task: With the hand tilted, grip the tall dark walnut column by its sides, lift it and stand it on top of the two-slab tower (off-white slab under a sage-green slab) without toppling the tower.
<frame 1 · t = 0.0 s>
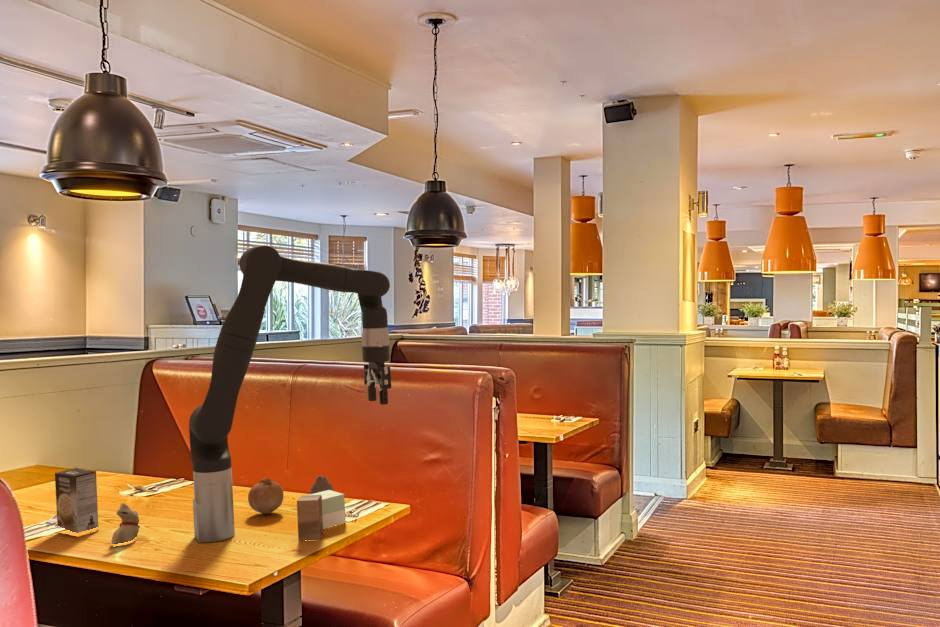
hand: (378, 402, 218), 29 cm above the table, tool pointing down, fingers open, 8 cm apart
vase: (322, 508, 221), on the table
onion: (266, 514, 217), on the table
chocolate bunny: (125, 543, 196), on the table
tower base: (326, 525, 205), on the table, touching tower mid
coffee box: (78, 533, 206), on the table
column: (311, 538, 194), on the table
tower mid: (325, 509, 205), point 4 cm above the table, touching tower base
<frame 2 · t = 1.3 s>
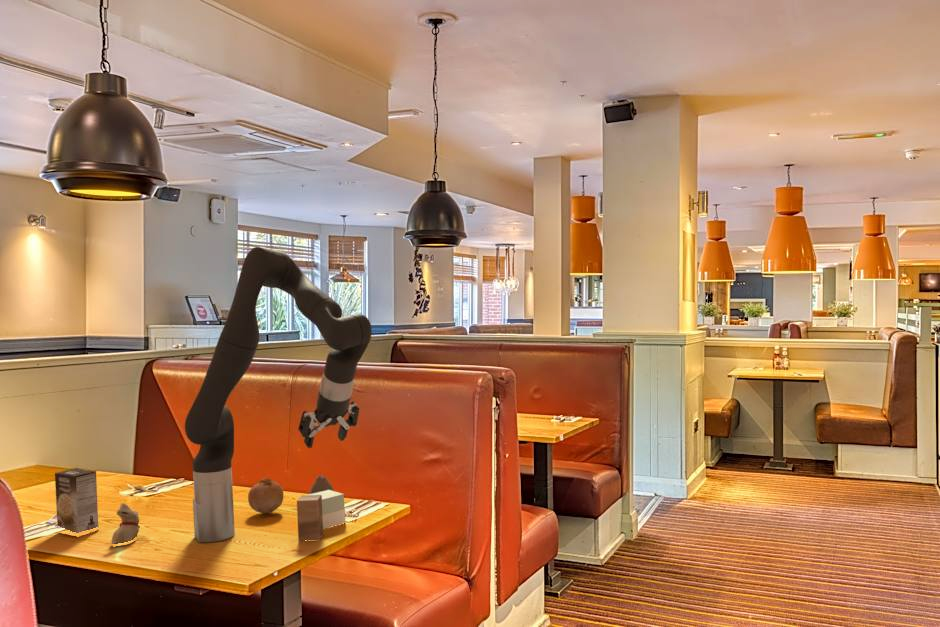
hand: (324, 442, 191), 24 cm above the table, tool tilted 35°, fingers open, 8 cm apart
nothing on the table moved.
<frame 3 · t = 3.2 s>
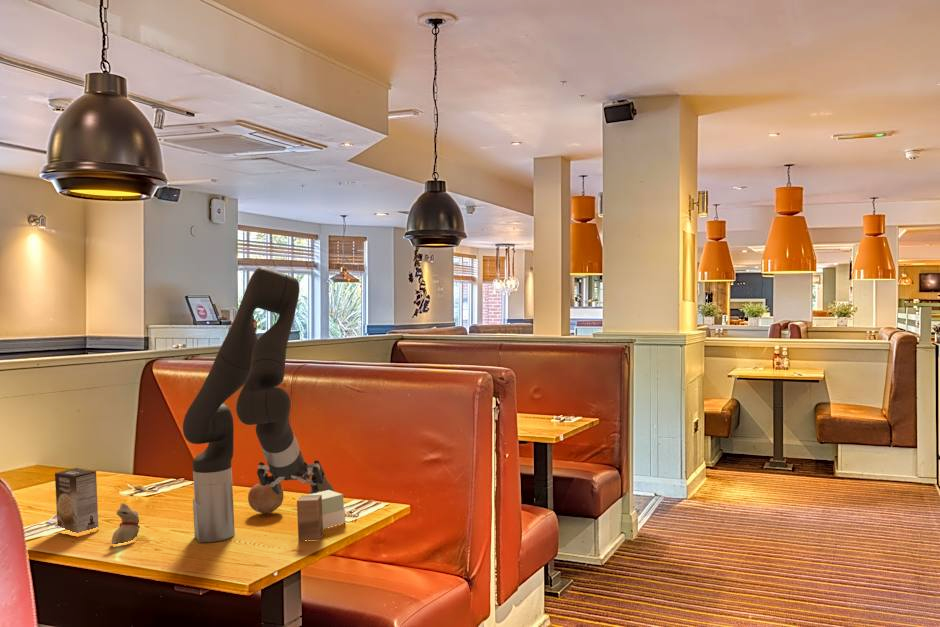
hand: (297, 490, 182), 15 cm above the table, tool tilted 45°, fingers open, 8 cm apart
nothing on the table moved.
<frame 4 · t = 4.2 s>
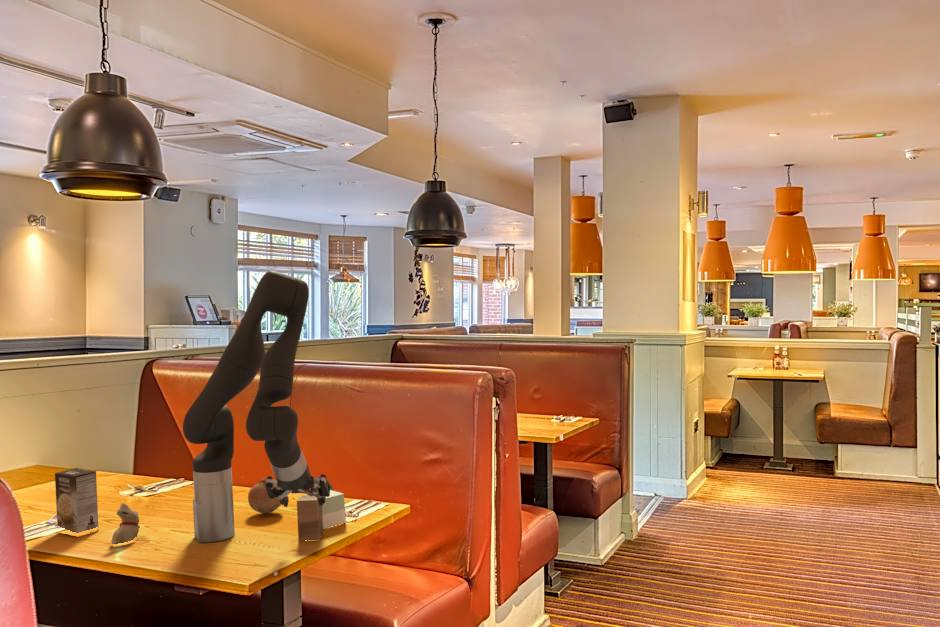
hand: (304, 502, 188), 10 cm above the table, tool tilted 45°, fingers open, 8 cm apart
nothing on the table moved.
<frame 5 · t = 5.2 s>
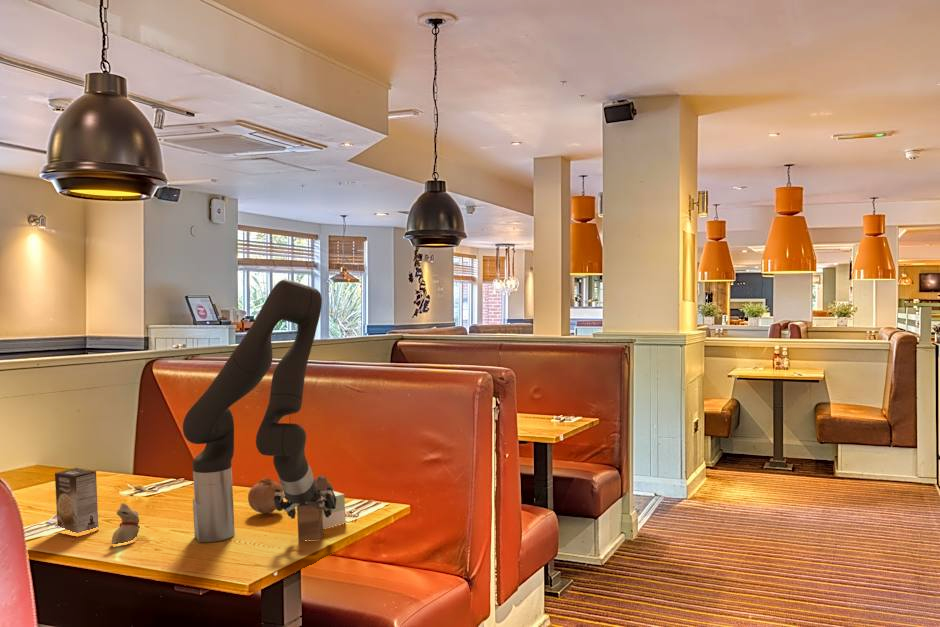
hand: (310, 514, 194), 6 cm above the table, tool tilted 45°, fingers open, 8 cm apart
nothing on the table moved.
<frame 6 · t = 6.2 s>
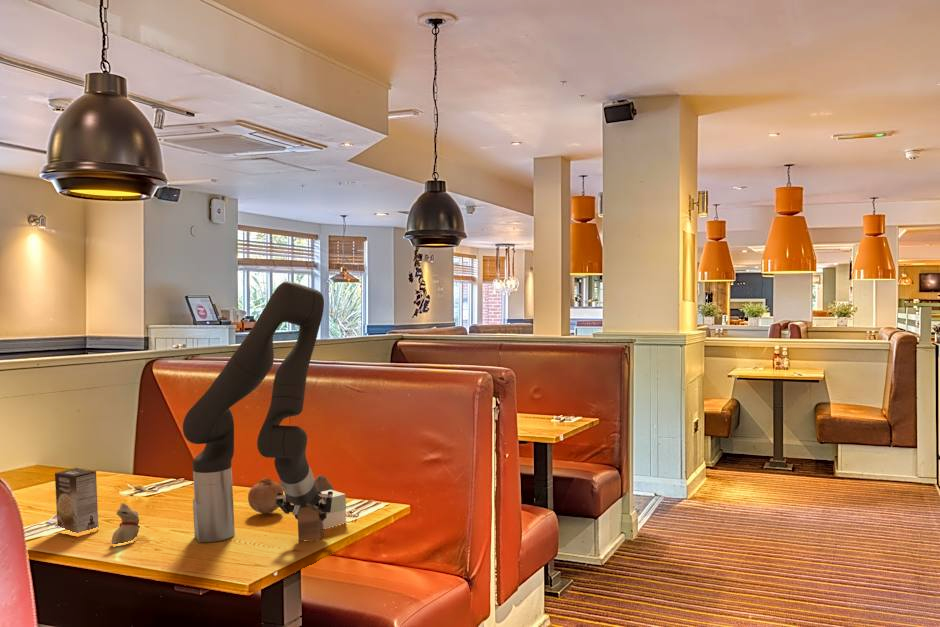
hand: (312, 517, 196), 4 cm above the table, tool tilted 45°, fingers closed on column, 5 cm apart
tower base: (327, 524, 205), on the table
column: (311, 537, 194), on the table, touching gripper
tower mid: (327, 509, 205), point 4 cm above the table
everything else where it was.
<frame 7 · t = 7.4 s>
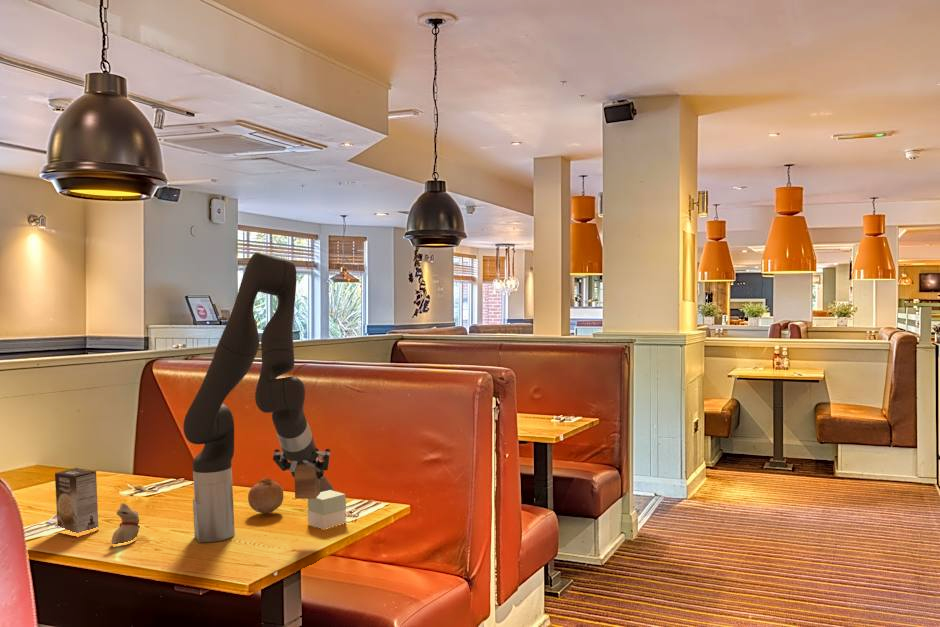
hand: (309, 475, 195), 15 cm above the table, tool tilted 45°, fingers closed on column, 5 cm apart
tower base: (327, 525, 205), on the table, touching tower mid
column: (307, 495, 193), point 10 cm above the table, touching gripper
tower mid: (327, 509, 205), point 4 cm above the table, touching tower base
everything else where it was.
when the fingers open (14 cm above the table, at t = 9.9 s): column drops 2 cm, resting on tower mid.
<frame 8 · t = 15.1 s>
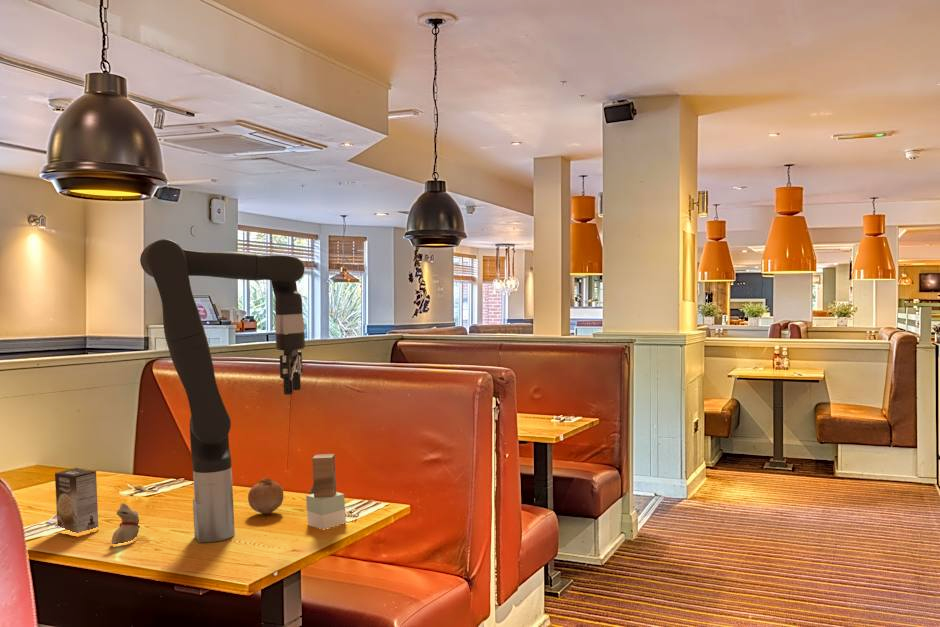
hand: (292, 392, 210), 34 cm above the table, tool pointing down, fingers open, 8 cm apart
column: (325, 494, 205), point 8 cm above the table, touching tower mid
tower mid: (325, 509, 205), point 4 cm above the table, touching column, tower base
everything else where it was.
at the end: column 0.1 cm off-centre on the tower mid, point 4.0 cm above the tower mid's base; column tilted 1°; tower mid moved 0.5 cm from its start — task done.
